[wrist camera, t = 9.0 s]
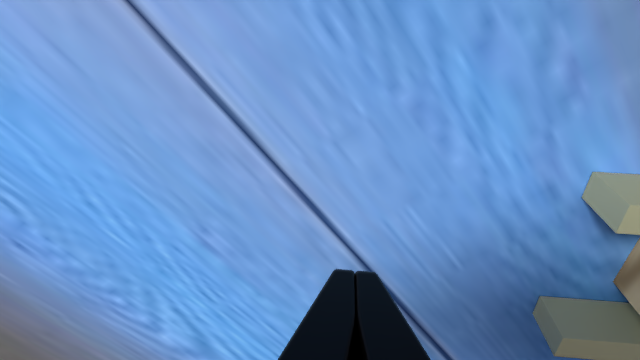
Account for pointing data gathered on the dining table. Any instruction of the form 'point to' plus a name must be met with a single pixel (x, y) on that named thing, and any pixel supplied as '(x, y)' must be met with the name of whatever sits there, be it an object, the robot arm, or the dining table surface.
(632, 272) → the maple bracket block
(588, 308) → the sage slot bracket
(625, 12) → the dining table surface
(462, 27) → the dining table surface
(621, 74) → the dining table surface
